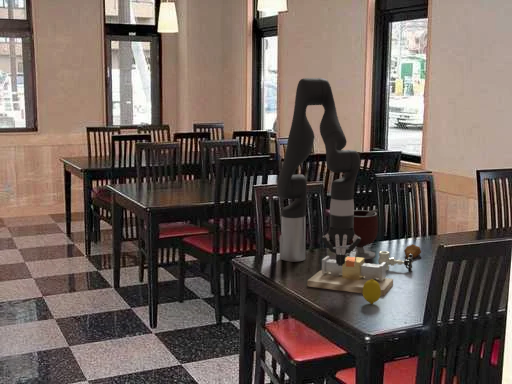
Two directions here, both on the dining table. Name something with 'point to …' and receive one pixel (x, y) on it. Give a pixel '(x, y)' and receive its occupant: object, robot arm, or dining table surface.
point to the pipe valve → (354, 269)
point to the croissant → (412, 251)
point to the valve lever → (351, 258)
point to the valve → (394, 260)
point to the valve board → (345, 283)
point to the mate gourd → (365, 231)
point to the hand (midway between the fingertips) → (340, 265)
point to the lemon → (371, 291)
